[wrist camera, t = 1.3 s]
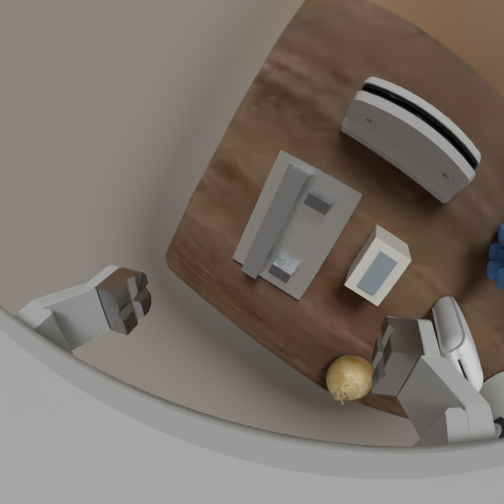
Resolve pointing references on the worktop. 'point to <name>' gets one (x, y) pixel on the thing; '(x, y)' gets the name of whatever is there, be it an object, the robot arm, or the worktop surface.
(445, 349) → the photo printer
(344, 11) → the worktop surface
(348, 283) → the block
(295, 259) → the rail base
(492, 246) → the grapes
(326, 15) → the worktop surface
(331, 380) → the onion
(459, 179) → the white toaster
